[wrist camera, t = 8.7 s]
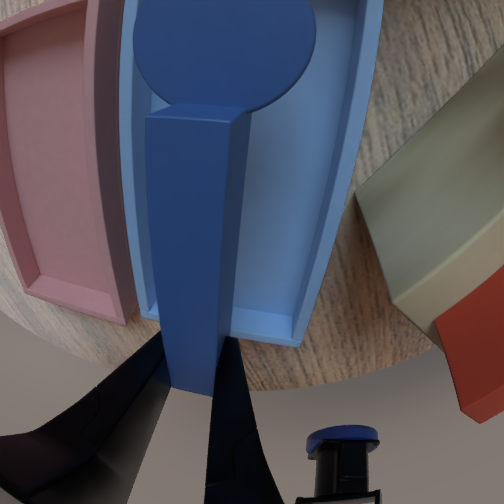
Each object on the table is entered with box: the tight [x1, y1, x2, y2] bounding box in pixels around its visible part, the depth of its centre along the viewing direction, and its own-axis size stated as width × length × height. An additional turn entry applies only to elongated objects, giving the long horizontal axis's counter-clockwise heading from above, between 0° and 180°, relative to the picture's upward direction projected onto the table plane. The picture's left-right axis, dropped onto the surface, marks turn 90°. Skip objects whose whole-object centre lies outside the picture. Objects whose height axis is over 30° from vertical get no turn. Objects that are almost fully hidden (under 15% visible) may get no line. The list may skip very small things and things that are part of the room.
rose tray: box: [0, 0, 139, 326], centre depth 11 cm, size 15×8×2 cm, turn 174°
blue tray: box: [119, 0, 384, 348], centre depth 10 cm, size 15×8×2 cm, turn 174°
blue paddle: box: [133, 0, 316, 397], centre depth 7 cm, size 12×4×2 cm, turn 174°
